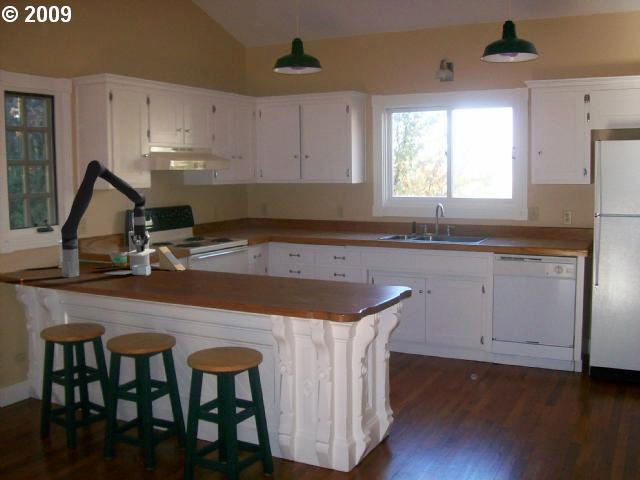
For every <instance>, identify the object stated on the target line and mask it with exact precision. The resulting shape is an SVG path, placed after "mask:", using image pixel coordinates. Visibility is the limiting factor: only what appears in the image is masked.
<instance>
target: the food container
mask: <svg viewBox="0 0 640 480" xmlns="http://www.w3.org/2000/svg"><path fill="white" fill-rule="evenodd" d="M126 253H128V251H125V252H109V254H108V255H109V257H110V261H111V267H112V268H118V267H119V268H120V267H127V262H128V260H127V259H128V255H126Z"/></svg>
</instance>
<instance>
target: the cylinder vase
mask: <svg viewBox="0 0 640 480" xmlns="http://www.w3.org/2000/svg"><path fill="white" fill-rule="evenodd" d="M145 233H146V235H147V236H149V231H148V230H146V231H145ZM131 235H134V230H131V231H128V245H129V246H128V249H129V250H128V251H129V252H131V251H134V250H136V245H135V244H133V242H132V239H131ZM142 241H143V240H142ZM140 244H141V242H140ZM149 245H150V244H149V240H148V243H147V244H146V245H145V249H150V246H149ZM134 265H150V253H149V254H146V255H144V256H131V255H129V269H130V270H132V266H134Z"/></svg>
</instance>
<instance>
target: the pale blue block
mask: <svg viewBox="0 0 640 480" xmlns="http://www.w3.org/2000/svg"><path fill="white" fill-rule="evenodd" d="M151 266H152V265H150V264H149V265H134V266H132V269H131V271H132V273H131V274H132V275H133V276H142V277H143V276H144V277H146V276H151V273H152V267H151Z"/></svg>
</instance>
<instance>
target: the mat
mask: <svg viewBox="0 0 640 480" xmlns="http://www.w3.org/2000/svg"><path fill="white" fill-rule="evenodd" d="M102 274H103V275H104V274H105V275H116V276H118V275H119V276H123V275H127V274H128V275H129V274H132V270H129V269H125V270H124V269H117V270H113V271H107V272H103V273H102Z"/></svg>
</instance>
